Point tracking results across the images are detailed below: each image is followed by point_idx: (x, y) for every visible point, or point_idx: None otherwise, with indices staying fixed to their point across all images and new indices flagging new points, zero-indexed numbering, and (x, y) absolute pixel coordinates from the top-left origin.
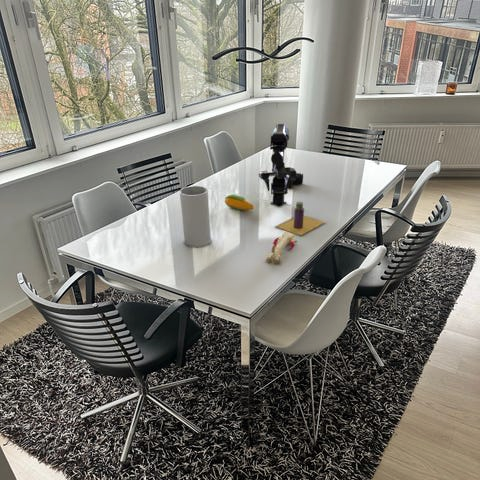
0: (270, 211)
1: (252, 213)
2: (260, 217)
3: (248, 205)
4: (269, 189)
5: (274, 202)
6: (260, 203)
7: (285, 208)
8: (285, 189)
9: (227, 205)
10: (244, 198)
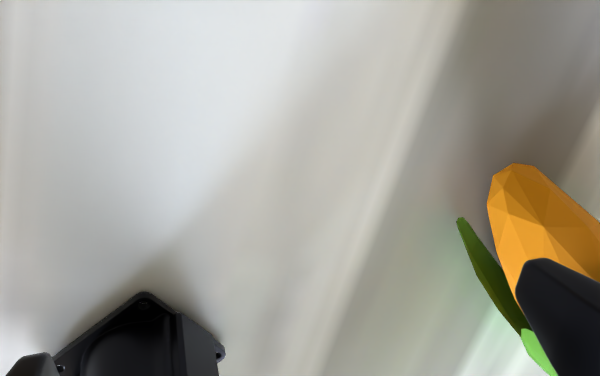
0: (274, 176)
1: (468, 150)
2: (439, 22)
3: (563, 199)
4: (569, 290)
5: (198, 339)
6: (314, 355)
7: (73, 239)
8: (50, 369)
9: None
10: None
